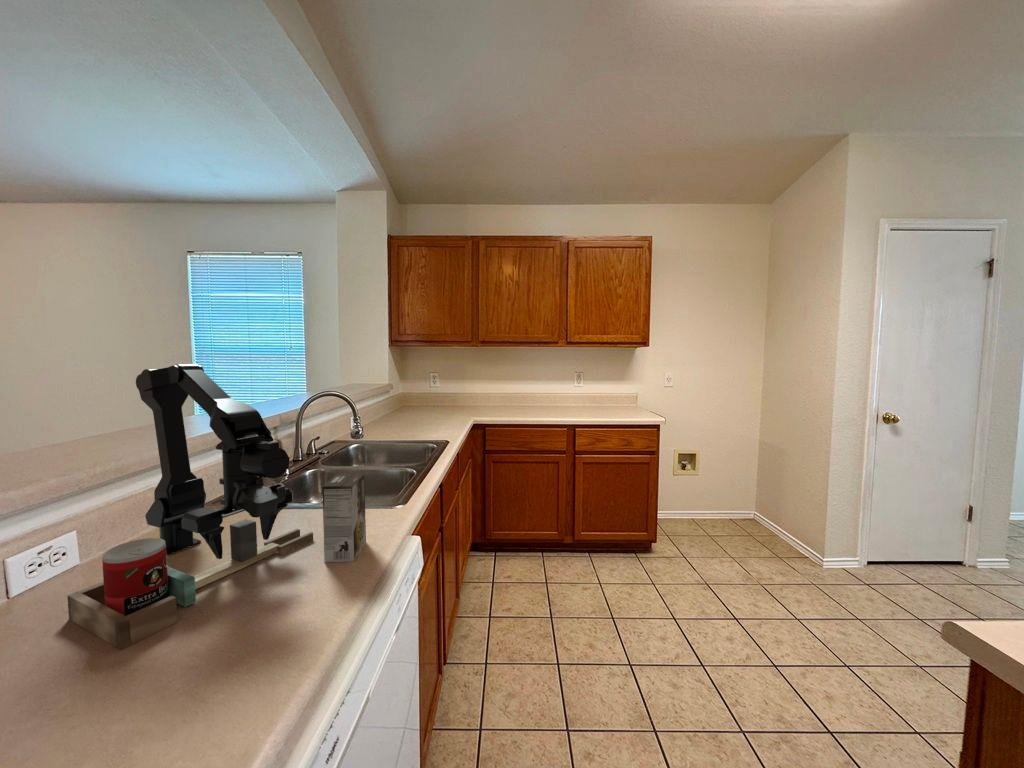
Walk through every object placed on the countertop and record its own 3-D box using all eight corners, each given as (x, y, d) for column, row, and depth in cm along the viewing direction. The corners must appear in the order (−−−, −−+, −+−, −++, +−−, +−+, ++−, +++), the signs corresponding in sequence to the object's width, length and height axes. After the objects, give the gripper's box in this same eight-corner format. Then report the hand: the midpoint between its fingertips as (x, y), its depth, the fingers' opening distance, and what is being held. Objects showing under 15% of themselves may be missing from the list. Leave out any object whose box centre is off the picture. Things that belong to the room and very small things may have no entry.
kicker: (149, 591, 73) (147, 545, 73) (259, 545, 91) (258, 508, 91) (185, 607, 69) (182, 558, 68) (293, 555, 87) (292, 516, 86)
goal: (68, 619, 66) (67, 595, 66) (124, 596, 72) (123, 574, 72) (120, 650, 59) (119, 623, 59) (177, 621, 65) (175, 597, 65)
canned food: (129, 632, 63) (125, 562, 62) (92, 623, 65) (88, 555, 64) (181, 603, 70) (178, 540, 70) (146, 596, 72) (143, 535, 72)
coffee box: (337, 543, 93) (336, 473, 92) (367, 542, 94) (365, 472, 93) (322, 563, 84) (320, 485, 83) (355, 561, 85) (353, 484, 84)
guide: (264, 550, 89) (264, 542, 89) (297, 536, 97) (297, 528, 97) (281, 555, 87) (280, 547, 87) (313, 540, 94) (313, 532, 94)
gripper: (214, 491, 70) (218, 580, 71) (309, 465, 87) (311, 537, 88) (177, 483, 75) (181, 566, 76) (274, 460, 91) (277, 528, 92)
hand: (243, 548), depth 83 cm, fingers open, 9 cm apart
